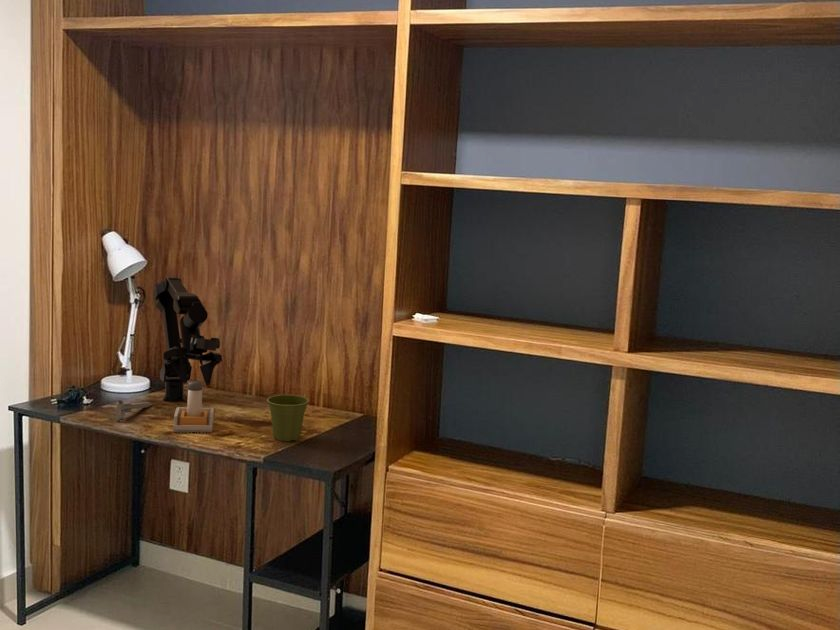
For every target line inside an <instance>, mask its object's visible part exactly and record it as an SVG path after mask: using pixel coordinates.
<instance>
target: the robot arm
mask: <svg viewBox="0 0 840 630" xmlns="http://www.w3.org/2000/svg"><path fill="white" fill-rule="evenodd" d="M152 298H153V300H154V303H155V306H156V308H157V309H158V310H159V311H160V312H161V315H162V316H161V317H162V322H163V329H164V338H165V344H166V345H165V346H166V350H165V351H164V353H163V362H162V364H161V367H160V371H159V379H160V381H161V382H162V383H165V385H164V386H165V393H164V396H163V397H162V400H163V401H167V402H168V401H169V402H170V401H176V402H178V401H180V402H183V401H185V399H186V394H184V387H185V385H184V384H186V383H188V382H189V381H191V374H192V369H193V366H192V365H191V362H190V361H189V360H191V361H192V360H194V361H199V364H200V366H199V369H200V372H201V374H202V378H203V380H204V383H205V385H206V386H209V385H211V379H212V375H213V372H214V369H215V368H216V366H217V365H219V364H220V363H221V362H223V356H222V354H220V352H216V351H217V349H218V350H219V349H220V347H221V342H220V340H221V339H220V337H219V338H218V337H211V338H210V339H209V338H205V336H204V335H201V329H200V328H201V327H202V326H203V325H204V323H205V322H206V321H207V319H208V311H207V310H206V308H205V306H204V304H203V302H202V301H201V299H200V298H199V296H198V295H196V294H195V293H191V292H189V291H188V290H187V288H186V287H185V286H184V284H183V282H182V279H181V278H179V277H165V278H164V279H163V280H162V281H160V282H159V283H157V284H155V286H154V288H153V290H152ZM178 315H183V316H182V317H181V318H180V319H179V321H178ZM208 351H209V352H208Z"/></svg>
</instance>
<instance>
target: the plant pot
mask: <svg viewBox="0 0 840 630" xmlns="http://www.w3.org/2000/svg"><path fill="white" fill-rule="evenodd" d="M266 402H267V403H268V407H269V411H270V418H271V425H272V432H273V438H274V439H276V440H277V441H280V442H291V441H297V440H299V439H300V436H301V431H302V426H303V421H304V418H305V417H304V416H305V412H306V410H307V407H308V406H307V405H308V403H309V402H310V399H309V398H308V397H305V396H303V395H297V394H277V395H276V394H275V395H272V396H269V397H268V398H267V399H266Z"/></svg>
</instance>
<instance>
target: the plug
mask: <svg viewBox="0 0 840 630" xmlns="http://www.w3.org/2000/svg"><path fill="white" fill-rule="evenodd" d="M203 384H204V383H203V381H201V380H189V381H187V406H186V407H187V417H201V413H202V408H203V405H202V404H203Z"/></svg>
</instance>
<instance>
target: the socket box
mask: <svg viewBox="0 0 840 630" xmlns="http://www.w3.org/2000/svg"><path fill="white" fill-rule="evenodd" d="M214 409H215V408H214V407H202V413H201V417H187V406H185V407H183V406H181V407H178V406H176V409H175V412H174V415H173V429H172V430H173V432H172V433H174V434H177V433H178V432H180V434H182V432H183V433H184V434H185V432H186V433H187V434H189V432H191V434H192V432H195V433H194V434H198V433H199V432H200V433H199V434H212V433H213V428H214V427H213V426H214V417H215V414H214V413H215V412H214V411H215V410H214ZM175 432H177V433H175ZM196 432H197V433H196ZM203 432H204V433H203ZM206 432H207V433H206ZM209 432H210V433H209ZM178 434H179V433H178Z"/></svg>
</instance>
